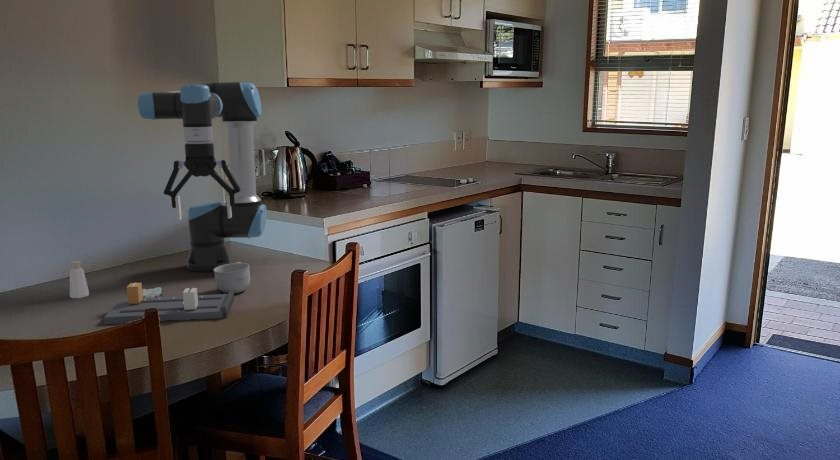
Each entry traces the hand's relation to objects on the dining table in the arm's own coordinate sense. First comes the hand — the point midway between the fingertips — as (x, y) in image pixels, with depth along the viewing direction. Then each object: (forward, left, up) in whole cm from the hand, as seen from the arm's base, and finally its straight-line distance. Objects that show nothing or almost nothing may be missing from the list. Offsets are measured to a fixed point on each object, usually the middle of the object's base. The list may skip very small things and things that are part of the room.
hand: (204, 218), depth 180 cm
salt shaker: (-20, -43, -27) cm, 54 cm away
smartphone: (-15, -21, -27) cm, 37 cm away
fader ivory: (+4, -5, -24) cm, 25 cm away
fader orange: (-4, -22, -24) cm, 33 cm away
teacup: (-19, +4, -27) cm, 33 cm away
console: (0, -11, -27) cm, 29 cm away
